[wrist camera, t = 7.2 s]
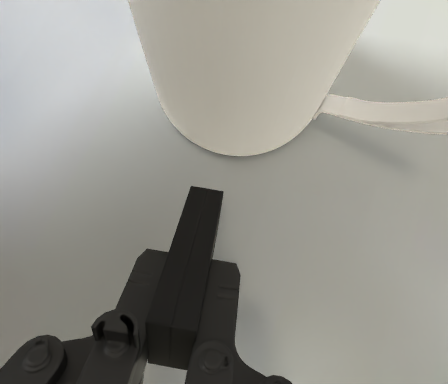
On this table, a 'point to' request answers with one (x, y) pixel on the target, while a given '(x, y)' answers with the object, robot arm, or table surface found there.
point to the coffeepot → (262, 70)
